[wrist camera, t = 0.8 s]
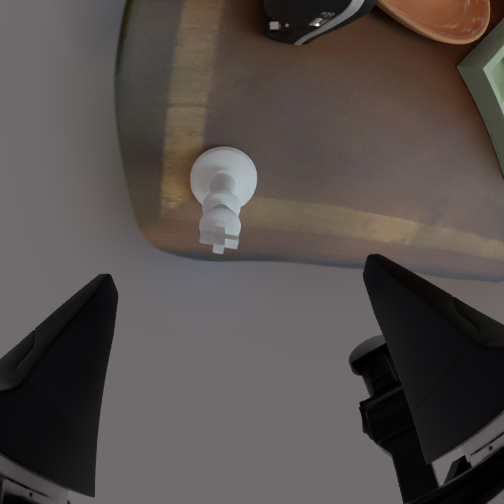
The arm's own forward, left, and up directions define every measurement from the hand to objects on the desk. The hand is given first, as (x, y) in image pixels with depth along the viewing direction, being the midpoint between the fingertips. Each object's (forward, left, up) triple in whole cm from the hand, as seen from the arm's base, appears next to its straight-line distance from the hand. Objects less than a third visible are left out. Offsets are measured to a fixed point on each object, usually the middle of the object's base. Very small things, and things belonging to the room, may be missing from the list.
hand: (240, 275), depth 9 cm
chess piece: (0, +1, -13) cm, 13 cm away
